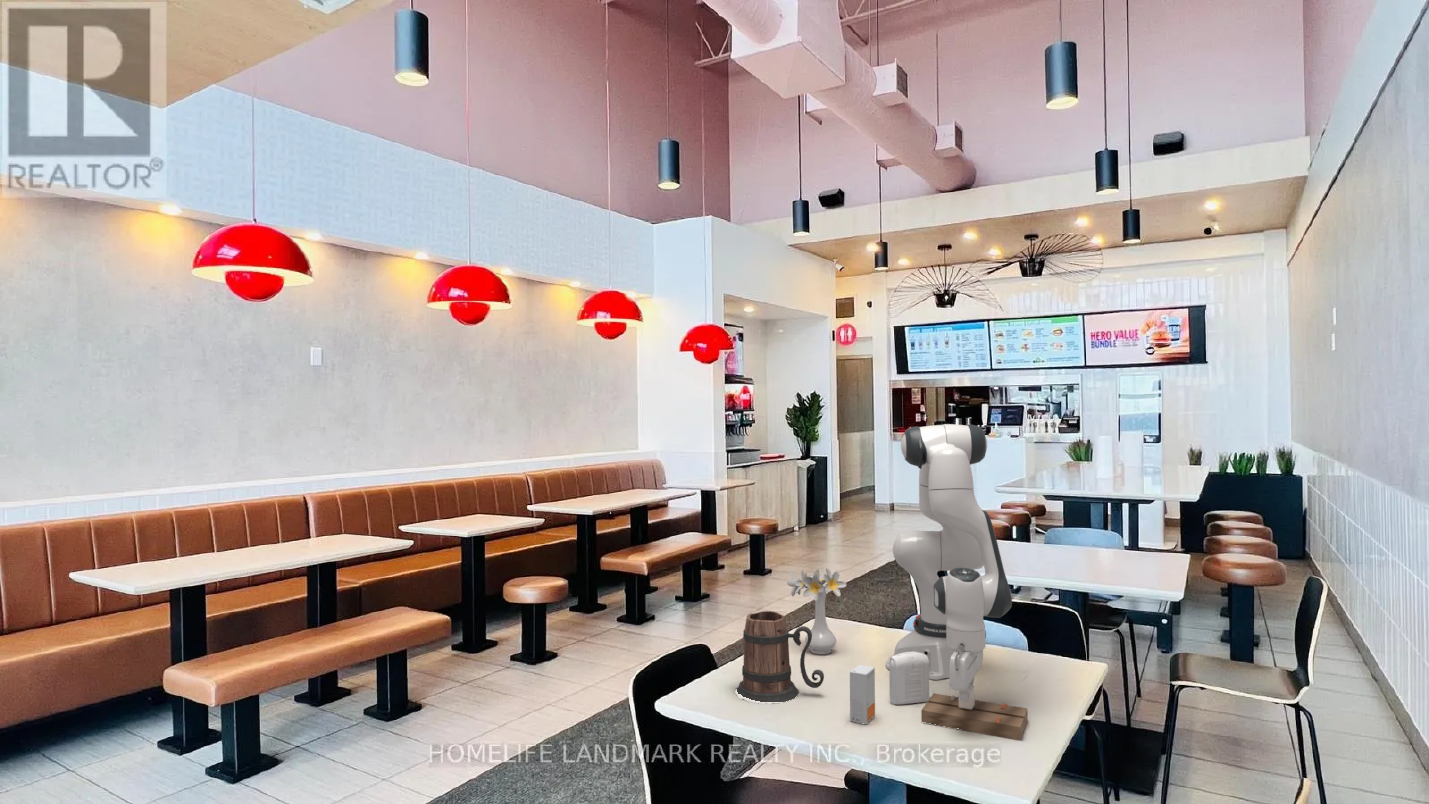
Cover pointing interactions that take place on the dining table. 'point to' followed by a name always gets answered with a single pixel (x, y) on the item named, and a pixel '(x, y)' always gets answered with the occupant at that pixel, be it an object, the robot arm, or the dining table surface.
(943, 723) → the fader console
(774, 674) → the tankard
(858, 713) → the skincare box
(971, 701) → the fader knob
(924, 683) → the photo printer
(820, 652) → the flower vase
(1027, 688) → the dining table surface
